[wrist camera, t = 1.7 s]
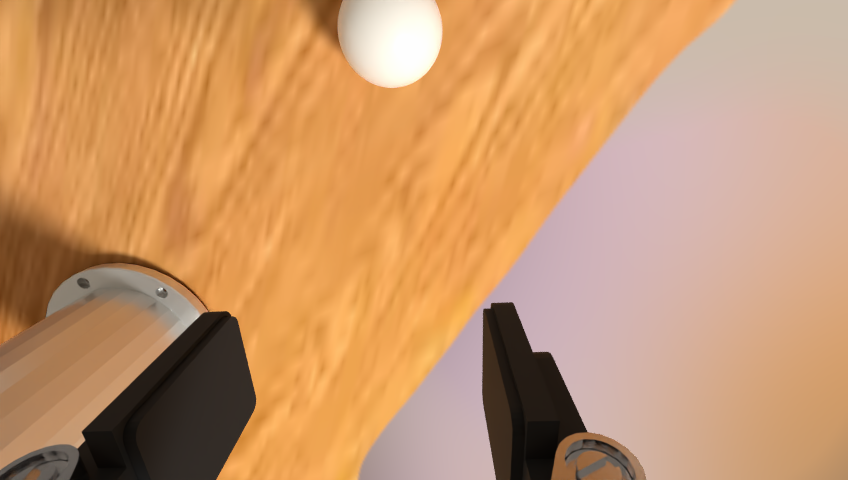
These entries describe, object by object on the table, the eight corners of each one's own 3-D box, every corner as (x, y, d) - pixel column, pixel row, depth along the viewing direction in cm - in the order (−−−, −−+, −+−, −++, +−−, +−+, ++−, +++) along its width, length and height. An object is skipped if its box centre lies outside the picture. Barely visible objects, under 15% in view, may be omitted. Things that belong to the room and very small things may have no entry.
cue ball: (404, 107, 25) (397, 111, 20) (330, 48, 24) (303, 36, 19) (459, 28, 23) (468, 11, 18) (384, -39, 22) (370, -77, 17)
